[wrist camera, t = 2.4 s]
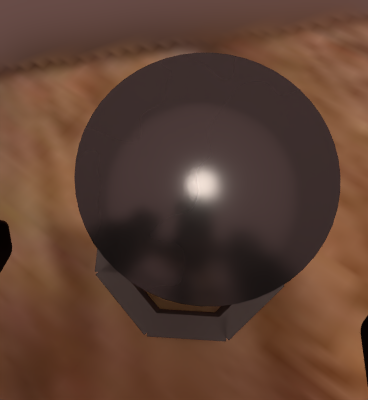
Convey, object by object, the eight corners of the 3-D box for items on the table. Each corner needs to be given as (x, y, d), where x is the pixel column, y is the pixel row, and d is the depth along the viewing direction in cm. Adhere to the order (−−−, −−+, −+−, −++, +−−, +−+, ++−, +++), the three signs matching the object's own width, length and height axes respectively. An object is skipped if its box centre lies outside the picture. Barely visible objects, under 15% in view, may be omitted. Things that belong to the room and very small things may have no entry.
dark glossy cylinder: (187, 304, 17) (197, 371, 5) (132, 240, 18) (21, 157, 6) (249, 247, 18) (395, 178, 5) (193, 187, 18) (214, 10, 6)
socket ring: (184, 371, 16) (184, 384, 14) (74, 236, 18) (61, 231, 16) (308, 250, 18) (323, 247, 16) (196, 135, 19) (198, 119, 17)
